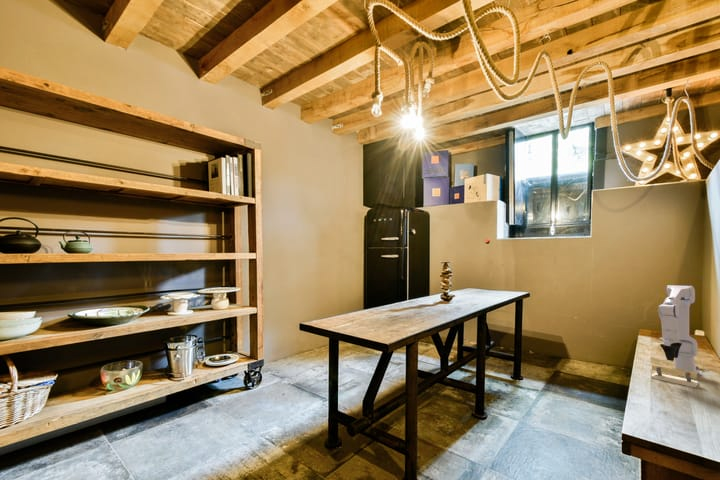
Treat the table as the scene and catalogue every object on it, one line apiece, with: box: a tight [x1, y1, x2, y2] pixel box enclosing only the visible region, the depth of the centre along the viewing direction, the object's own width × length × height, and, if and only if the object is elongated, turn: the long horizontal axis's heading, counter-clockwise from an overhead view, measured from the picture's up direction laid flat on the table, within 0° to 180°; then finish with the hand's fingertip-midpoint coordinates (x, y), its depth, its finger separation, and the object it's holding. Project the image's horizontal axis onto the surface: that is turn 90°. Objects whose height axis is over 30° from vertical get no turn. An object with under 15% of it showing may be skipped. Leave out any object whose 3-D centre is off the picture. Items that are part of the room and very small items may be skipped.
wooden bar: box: [651, 363, 698, 380], centre depth 151 cm, size 2×15×2 cm, turn 35°
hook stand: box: [650, 367, 699, 388], centre depth 151 cm, size 7×15×5 cm, turn 35°
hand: (672, 359), depth 151 cm, fingers open, 7 cm apart
